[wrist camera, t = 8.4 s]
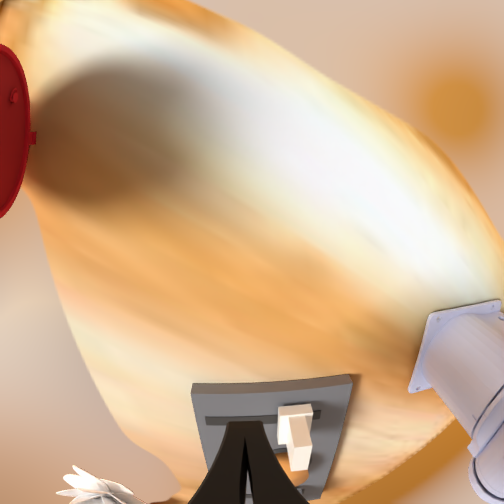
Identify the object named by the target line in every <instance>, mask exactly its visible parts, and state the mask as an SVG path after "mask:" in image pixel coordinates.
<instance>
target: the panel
mask: <svg viewBox="0 0 504 504" xmlns="http://www.w3.org/2000/svg"><path fill="white" fill-rule="evenodd" d="M352 386H353V382H352V380H351V378H350V376H349V374H345V375H338V376H330V377H322V378H313V379H303V380H292V381H279V382H263V383H237V384H192V390H191V398H192V403H193V408H194V412H195V417H196V422H197V426H198V431H199V435H200V440H201V444H202V448H203V452H204V456H205V460H206V464H207V468H208V471H209V470H210V468H211V466H212V464H213V462H214V460H215V457H216V455H217V453H218V450H219V448H220V445H221V443H222V440H223V437H224V433H225V430H226V424H227V423H228V422H229V421H257V420H260V421H262V422H263V426H264V429H265V433H266V436H267V438H268V441H269V443H270V445H271V448H272V450H273V452H274V454H277V453H283V452H288V451H287V445H286V444H281V445H278V439H277V427H278V407H281V406H293V405H303V404H311V407H312V410H313V417H312V423H311V430H310V438H311V442H312V450H311V455H310V460H309V465H308V473H309V477H308V479H307V480H306V481H305V482H304V483H302V484H300V485H298V486H296V488H301V490H302V496H303V497H304V498H305V499H306V500H307V501H308V500H315V499H320V497H321V494H322V492H323V489H324V486H325V483H326V480H327V477H328V474H329V471H330V468H331V465H332V462H333V459H334V455H335V452H336V449H337V445H338V442H339V438H340V435H341V431H342V427H343V423H344V420H345V416H346V412H347V407H348V403H349V399H350V395H351V390H352ZM245 504H253V500H252V494H251V488H250V482H249V475H248V473H247V488H246V502H245Z"/></svg>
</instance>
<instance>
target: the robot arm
mask: <svg viewBox="0 0 504 504" xmlns="http://www.w3.org/2000/svg"><path fill="white" fill-rule="evenodd" d="M500 308H501V301H500V300H493V301H489V302H484V303H480V304H475V305H470V306H465V307H460V308H455V309H449V310H444V311H438V312H433V313H431V314H430V315H429V316H428V318H427V323H426V327H425V331H424V335H423V339H422V343H421V347H420V350H419V354H418V357H417V361H416V364H415V368H414V371H413V374H412V377H411V380H410V383H409V386H408V391H409V393H415V392H419V391H422V390H426V389H429V388H433V389H434V390H435V392H436V393H437V394H438V395H439V397H440V398H441V399H442V400H443V402H444V403H445V404H446V406H447V407H448V408H449V409H450V411H451V412H452V413H453V415H454V416H455V417H456V419H457V420H458V421H459V422H460V424H461V425H462V426H463V428H464V429H465V430H466V432H467V433H468V434H469V436H470V437H471V439H472V441H471V443H470V444H469V446H468V447H467V448H468V450H469V451H470V452H471V454H472V455H473V457H472V458H471V460H470V463H469V467H468V474H469V479H470V483H471V485H472V487H473V489H474V491H475V492H476V494H477V495H478V496H479V497H480V498H481V499H483V500H484V501H486V502H487V503H490V504H504V314H503V313H502V312H500ZM438 317H439V318H438ZM437 318H438V319H437ZM247 473H248V475H249V482H250V488H251V494H252V500H253V504H309V503H308V502H307V500H306V499H305V498H304V497H303V496H302V495H301V493H300V492H299V491H298V490H297V488H296V487H295V486H294V484H293V483H292V482H291V480H290V479H289V477H288V476H287V474H286V473H285V471H284V470H283V468H282V466H281V465H280V463H279V461H278V459H277V457H276V456H275V454H274V452H273V450H272V448H271V445H270V443H269V441H268V438H267V436H266V433H265V429H264V426H263V422H262V421H260V420H257V421H229V422H228V423H227V424H226V430H225V433H224V437H223V440H222V443H221V445H220V448H219V450H218V453H217V455H216V457H215V460H214V462H213V464H212V466H211V468H210V470H209V471H208V473H207V475H206V477H205V479H204V480H203V482H202V484H201V485H200V487H199V488H198V490H197V491H196V493H195V494H194V496H193V497H192V499H191V500H190V501H189V502H188V504H245V502H246V488H247Z"/></svg>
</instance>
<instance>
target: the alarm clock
mask: <svg viewBox="0 0 504 504" xmlns="http://www.w3.org/2000/svg"><path fill="white" fill-rule="evenodd" d="M30 125H31V123H30V100H29V93H28V86H27V82H26V78H25V74H24V71H23V68H22V66H21V64H20V61H19V60H18V58H17V56H16V55H15V54H14V52H13V51H12V50H11V49H9V48H8V47H6V46H5V45H2V44H0V218H1V217H3V216H4V215H5V214H6V213H7V211H9V209H10V208H11V206H12V204H13V203H14V201H15V199H16V197H17V194H18V192H19V190H20V187H21V184H22V181H23V177H24V173H25V169H26V163H27V158H28V151H29V144H30V145H34V144H36V132H37V131H36V132H30Z"/></svg>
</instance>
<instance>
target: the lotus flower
mask: <svg viewBox="0 0 504 504" xmlns="http://www.w3.org/2000/svg"><path fill="white" fill-rule="evenodd" d="M73 469H74V470H75V471H76V472H77V473H78V474H79V475H80V476H79V475H75V474H67V475H65V476H64V477H63V479H64V480H65V481H66V482H68V483H69V484H70V485H71V486H73V487H74V488H76V489H71V490H63V491H60V492H57V493H56V494H59V495H64V496H76V498H75V499H73V500H72V501H71V502H70V503H69V504H147V503H145V502H143V501H142V500H140V499H138V498H136V497H134V496H133V495H134V493H133V491H131V490H130V489H128V488H127V487H125V486H124V485H122V484H119V483H116V482H113V481H109V480H105V479H101V478H97V477H95V476H93V475H92V474H90V473H88V472H87V471H85V470H83V469H81V468H78V467H77V466H75V465H73Z"/></svg>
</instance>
